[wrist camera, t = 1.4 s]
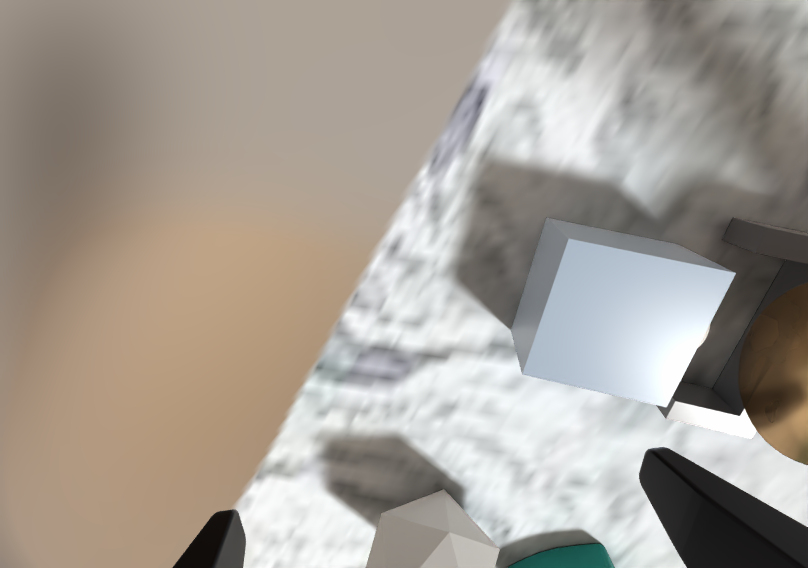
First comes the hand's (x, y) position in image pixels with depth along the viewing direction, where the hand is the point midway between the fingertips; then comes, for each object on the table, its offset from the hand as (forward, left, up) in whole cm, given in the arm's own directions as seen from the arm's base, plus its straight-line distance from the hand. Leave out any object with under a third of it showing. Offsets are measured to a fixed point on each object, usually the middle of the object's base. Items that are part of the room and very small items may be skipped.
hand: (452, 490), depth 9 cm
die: (-3, +20, -16) cm, 25 cm away
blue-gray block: (-7, 0, -16) cm, 18 cm away
